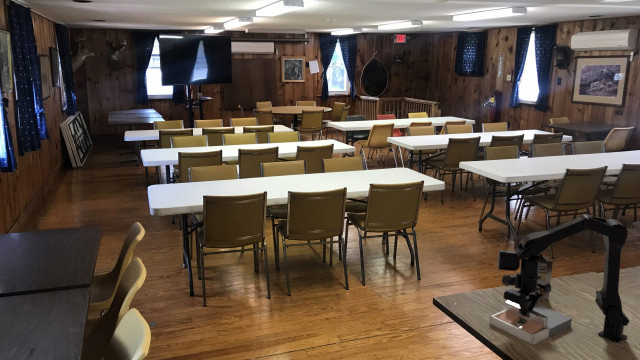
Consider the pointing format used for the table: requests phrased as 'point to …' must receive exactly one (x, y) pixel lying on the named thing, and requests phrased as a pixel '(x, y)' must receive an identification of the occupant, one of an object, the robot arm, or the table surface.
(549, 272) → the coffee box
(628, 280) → the table surface
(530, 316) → the sleeved grey plank
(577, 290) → the table surface
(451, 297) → the table surface
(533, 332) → the tile
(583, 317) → the table surface
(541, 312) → the board
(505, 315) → the tile
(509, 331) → the tray
